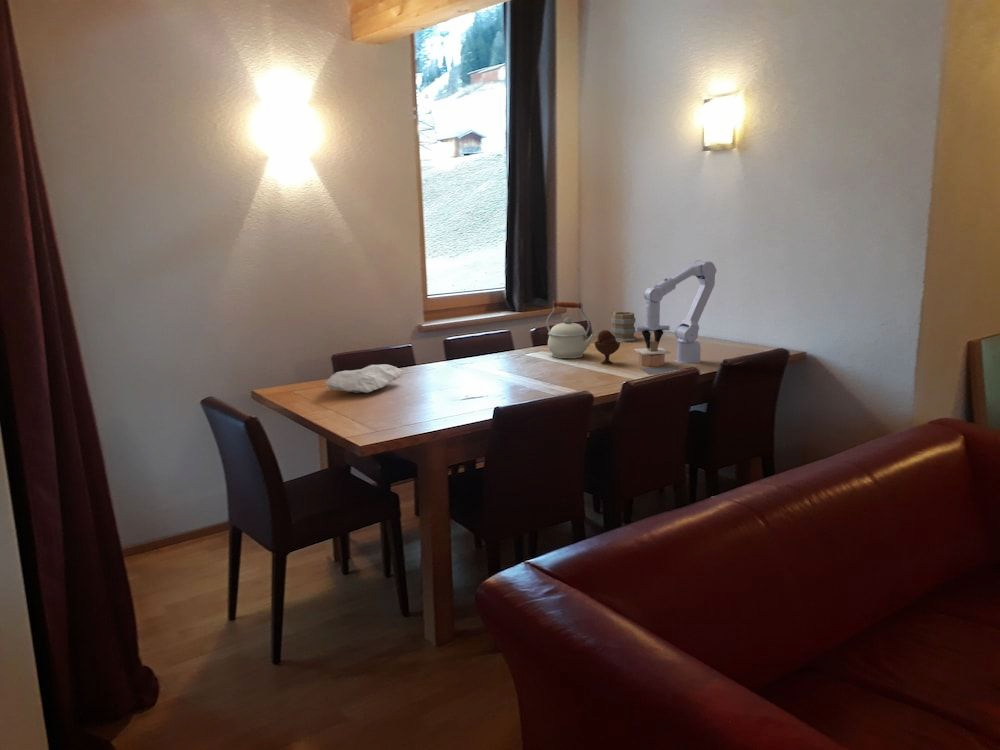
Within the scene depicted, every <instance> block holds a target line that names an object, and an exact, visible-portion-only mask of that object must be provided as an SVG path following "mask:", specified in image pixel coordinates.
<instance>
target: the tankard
mask: <svg viewBox="0 0 1000 750" xmlns="http://www.w3.org/2000/svg"><path fill="white" fill-rule="evenodd" d="M609 312H610V314H612V317H611V318H610V323H611V328H610V332H611V333H612V335H614V336H615V338H616V341H622V342H621V343H623V342H624V343H628V342H627V341H633V342H635V340H636V341H637V336H635V333H636V331H635V327H636V326H635V323H636V317H635V313H634V312H630V311H616V310H615V308H611V309H610V310H609Z"/></svg>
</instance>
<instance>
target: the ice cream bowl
mask: <svg viewBox="0 0 1000 750" xmlns="http://www.w3.org/2000/svg"><path fill="white" fill-rule="evenodd" d="M594 346H595V349H596V350H597V351H598V352H599V353H601V354H602V355H604V360H602V361H601V362H600V365H601V364H602V365H612V364H614V362H612V361H611V360H610V355H613V354H614V353H615V352H617V351H618V350H619V349H620V346H621V342H618V341H616V338H615V336H614V335H612V332H611V330H610V331H609V329H607V330H606V329H603V330H601V331H600V332H599V333H598V334H597V341H595V342H594Z"/></svg>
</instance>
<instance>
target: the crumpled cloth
mask: <svg viewBox="0 0 1000 750" xmlns="http://www.w3.org/2000/svg"><path fill="white" fill-rule="evenodd" d="M403 373H404V371H403V369H401V368H398V367H397V366H393V365H391V364H385V363H383V364H369V365H367V366H365V367H363V368H361V369H354V370H353V369H351V370H342V371H337V372H334V374H332V375H331V376H330V377H328V380H326V381H325V382H324V385H325V386H326V387H327V388H328V389H330V390H335V391H342V392H348V393H351V392H352V393H354V394H359V393H366V394H367V393H371V392H373V391H376V390H378V389H381V388H384V387H386V386H387V385H389V384H390V383H392V382H394V381H396V380H398V379H399V378H401V376H403Z"/></svg>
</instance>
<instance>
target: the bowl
mask: <svg viewBox="0 0 1000 750" xmlns="http://www.w3.org/2000/svg"><path fill="white" fill-rule="evenodd" d="M665 356H666V354H650V355H643V354H641V353H639V352H638V363H639V365H640V366H644V367H661V366H664V365H665Z"/></svg>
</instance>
